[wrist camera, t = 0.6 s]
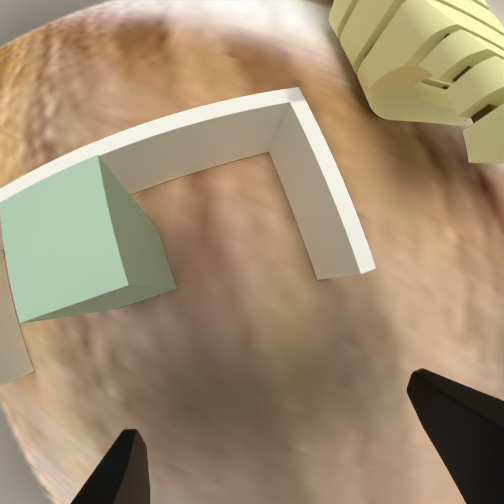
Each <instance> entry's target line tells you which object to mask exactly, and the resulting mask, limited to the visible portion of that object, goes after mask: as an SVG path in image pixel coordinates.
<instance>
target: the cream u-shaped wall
mask: <svg viewBox="0 0 504 504" xmlns="http://www.w3.org/2000/svg"><path fill="white" fill-rule="evenodd" d="M266 152H269V153H270V156H271V158H272V161H273V163H274V166H275V168H276V171H277V173H278V176H279V178H280V181H281V183H282V186H283V188H284V191H285V193H286V196H287V199H288V201H289V204H290V206H291V209H292V212H293V214H294V217H295V220H296V222H297V225H298V228H299V230H300V233H301V236H302V238H303V241H304V244H305V247H306V249H307V252H308V255H309V258H310V260H311V263H312V266H313V269H314V272H315V275H316V278H317V280H321V279H329V278H337V277H345V276H352V275H360V274H363V273H365V272H368V271H370V270H372V269H374V268H376V267H375V264H374V261H373V258H372V255H371V252H370V249H369V246H368V244H367V241H366V238H365V235H364V232H363V230H362V227H361V224H360V222H359V219H358V216H357V214H356V211H355V209H354V206H353V204H352V201H351V199H350V196H349V194H348V191H347V189H346V186H345V184H344V182H343V179H342V177H341V175H340V172H339V170H338V168H337V165H336V163H335V161H334V159H333V156H332V154H331V152H330V150H329V148H328V145H327V143H326V141H325V139H324V137H323V135H322V133H321V131H320V128H319V126H318V124H317V122H316V120H315V118H314V116H313V114H312V112H311V110H310V108H309V106H308V104H307V102H306V101H305V99H304V97H303V95H302V93H301V91H300V89H299V87H296V88H289V89H283V90H276V91H271V92H265V93H259V94H254V95H249V96H244V97H239V98H235V99H230V100H226V101H221V102H217V103H213V104H209V105H205V106H201V107H197V108H194V109H190V110H186V111H183V112H179V113H176V114H172V115H169V116H166V117H163V118H159V119H156V120H153V121H150V122H147V123H144V124H141V125H138V126H135V127H133V128H130V129H127V130H124V131H121V132H119V133H116V134H114V135H111V136H108V137H106V138H103V139H101V140H98V141H96V142H93V143H91V144H89V145H86V146H84V147H82V148H79V149H77V150H75V151H73V152H70V153H68V154H66V155H64V156H62V157H60V158H57V159H55V160H53V161H51V162H49V163H47V164H45V165H43V166H41V167H39V168H37V169H35V170H33V171H31V172H30V173H28V174H26V175H24V176H22V177H20V178H18V179H17V180H15V181H13V182H11V183H10V184H8V185H6V186H4V187H3V188H1V189H0V202H2V201H3V200H5V199H7V198H9V197H10V196H12V195H14V194H16V193H18V192H20V191H21V190H23V189H25V188H27V187H29V186H31V185H33V184H35V183H37V182H39V181H41V180H43V179H45V178H47V177H49V176H51V175H53V174H55V173H57V172H59V171H61V170H64V169H66V168H68V167H70V166H72V165H75V164H77V163H79V162H81V161H84V160H86V159H88V158H91V157H93V156H96V155H99V157H100V158H101V159H102V161H103V162H104V163H105V164H106V166H107V167H108V168H109V169H110V171H111V172H112V173H113V175H114V176H115V177H116V178H117V180H118V181H119V182H120V183H121V184H122V186H123V187H124V188H125V189H126V191H127V192H128V193H129V194H133V193H135V192H138V191H141V190H144V189H147V188H150V187H152V186H155V185H158V184H161V183H164V182H167V181H170V180H173V179H176V178H179V177H182V176H186V175H189V174H192V173H195V172H198V171H202V170H205V169H208V168H212V167H215V166H218V165H222V164H225V163H229V162H233V161H236V160H240V159H243V158H247V157H251V156H255V155H259V154H263V153H266ZM3 249H4V244H3V237H2V228H1V217H0V386H1V385H3V384H6V383H8V382H11V381H13V380H15V379H18V378H20V377H22V376H25V375H27V374H29V373H32V372H34V369H33V366H32V364H31V361H30V358H29V355H28V352H27V349H26V346H25V343H24V340H23V337H22V333H21V330H20V326H19V323H18V319H17V316H16V312H15V308H14V304H13V300H12V295H11V291H10V286H9V281H8V276H7V271H6V265H5V259H4V252H3Z"/></svg>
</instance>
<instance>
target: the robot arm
mask: <svg viewBox="0 0 504 504" xmlns="http://www.w3.org/2000/svg"><path fill="white" fill-rule="evenodd" d="M407 394H408V396H409V398H410V400H411V403H412V405H413V407H414V409H415V411H416V413H417V416H418V418H419V420H420V422H421V424H422V426H423V428H424V430H425V431H426V433H427V435H428V437H429V438H430V440H431V442H432V443H433V445H434V447H435V448H436V450H437V452H438V454H439V455H440V457H441V459H442V460H443V462H444V464H445V466H446V467H447V469H448V471H449V473H450V475H451V476H452V478H453V480H454V482H455V484H456V485H457V487H458V489H459V491H460V493H461V495H462V496H463V498H464V500H465V502H466V504H504V401H502V400H500V399H498V398H495V397H493V396H490V395H487V394H485V393H482V392H480V391H477V390H475V389H472V388H470V387H467V386H465V385H462V384H460V383H457V382H455V381H453V380H450V379H448V378H445V377H443V376H440V375H438V374H436V373H433V372H431V371H428V370H426V369H423V368H422V369H419V370H416V371H414V372H413V373H412V374H411V377H410V380H409V383H408V386H407ZM71 504H150V482H149V472H148V460H147V448H146V445H145V442H144V441H143V439H142V437H141V435H140V434H139V432H138V430H136V429H124V430H123V431H122V432H121V434H120V435H119V436H118V438H117V439H116V441H115V442H114V443H113V445H112V446H111V448H110V449H109V450H108V452H107V453H106V455H105V456H104V457H103V459H102V460H101V462H100V463H99V464H98V466H97V467H96V469H95V470H94V471H93V473H92V474H91V476H90V477H89V478H88V480H87V481H86V483H85V484H84V485H83V487H82V488H81V490H80V491H79V493H78V494H77V495H76V497H75V498H74V500H73V501H72V502H71Z"/></svg>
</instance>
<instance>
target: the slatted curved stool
mask: <svg viewBox="0 0 504 504" xmlns="http://www.w3.org/2000/svg"><path fill="white" fill-rule="evenodd" d="M488 9H489V6H488V5H487V3H486V1H485V0H334V2H333V5H332V8H331V10H330V13H329V23H330V25H331V27H332V29H333V30H334V32H335V34H336V36H337V38H338V40H339V41H340V43H341V45H342V47H343V49H344V51H345V53H346V55H347V57H348V59H349V61H350V63H351V65H352V67H353V69H354V71H355V74H356V75H357V78H358V80H359V82H360V85H361V87H362V89H363V91H364V94H365V96H366V98H367V101H368V103H369V105H370V108H371V109H372V110H373V112H374V113H375V114H377V115H378V116H379V117H381V118H383V119H386V120H399V121H414V122H427V123H437V124H446V125H455V126H463V127H464V124H465V121H466V118H471V119H472V121H473V123H474V124H472V125H471V126H469V127H468V128H466V129H465V130H463V135H464V139H465V143H466V148H467V154H468V161H469V163H501V164H502V163H504V27H503V26H502V24H501V23H500V22H499V20H498V19H497V17H496V16H495V15H494V14H493V13H492V12H490V11H488Z"/></svg>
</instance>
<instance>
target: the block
mask: <svg viewBox="0 0 504 504" xmlns="http://www.w3.org/2000/svg"><path fill="white" fill-rule="evenodd" d="M0 217H1V228H2V237H3V244H4V252H5V258H6V264H7V270H8V275H9V280H10V285H11V290H12V295H13V299H14V303H15V307H16V311H17V315H18V319H19V322H20V323H25V322H32V321H39V320H46V319H53V318H60V317H66V316H73V315H79V314H86V313H92V312H98V311H105V310H111V309H117V308H121V307H124V306H127V305H130V304H133V303H136V302H139V301H142V300H145V299H148V298H151V297H154V296H157V295H160V294H163V293H166V292H169V291H172V290H175V289H177V287H176V284H175V281H174V278H173V275H172V272H171V269H170V266H169V263H168V259H167V256H166V253H165V250H164V246H163V243H162V240H161V237H160V233H159V230H158V228H157V227H156V226H155V224H154V223H153V222H152V221H151V220H150V219H149V217H148V216H147V215H146V214H145V213H144V211H143V210H142V209H141V208H140V207H139V205H138V204H137V203H136V202H135V200H134V199H133V198H132V197H131V196H130V194H129V193H128V192H127V191H126V189H125V188H124V187H123V186H122V184H121V183H120V182H119V181H118V180H117V178H116V177H115V176H114V175H113V173H112V172H111V171H110V169H109V168H108V167H107V166H106V164H105V163H104V162H103V161H102V159H101V158H100V157H99V155H96V156H93V157H91V158H88V159H86V160H84V161H81V162H79V163H77V164H75V165H72V166H70V167H68V168H66V169H64V170H61V171H59V172H57V173H55V174H53V175H51V176H49V177H47V178H45V179H43V180H41V181H39V182H37V183H35V184H33V185H31V186H29V187H27V188H25V189H23V190H21V191H20V192H18V193H16V194H14V195H12V196H10V197H9V198H7V199H5V200H3V201H2V202H0Z"/></svg>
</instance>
